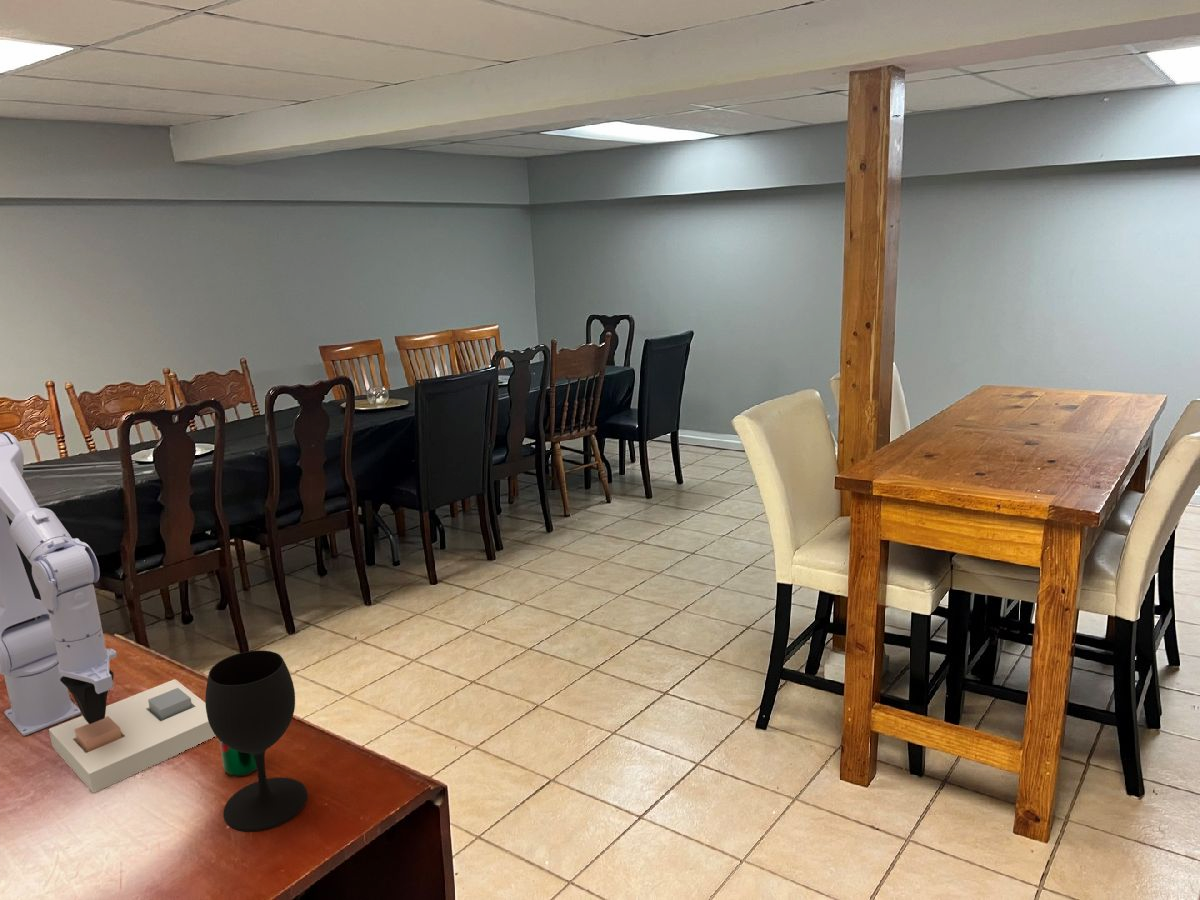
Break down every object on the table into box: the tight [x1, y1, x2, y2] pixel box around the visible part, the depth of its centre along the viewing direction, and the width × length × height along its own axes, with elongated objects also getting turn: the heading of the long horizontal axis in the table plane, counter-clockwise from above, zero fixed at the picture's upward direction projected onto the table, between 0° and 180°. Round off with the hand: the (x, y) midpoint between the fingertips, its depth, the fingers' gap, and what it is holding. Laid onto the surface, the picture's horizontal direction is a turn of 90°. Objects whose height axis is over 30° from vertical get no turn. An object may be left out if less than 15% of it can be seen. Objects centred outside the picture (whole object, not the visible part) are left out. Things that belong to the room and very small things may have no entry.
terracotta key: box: [75, 716, 122, 752], centre depth 124 cm, size 4×4×2 cm
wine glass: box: [204, 649, 308, 833], centre depth 111 cm, size 10×10×20 cm
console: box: [48, 678, 216, 794], centre depth 128 cm, size 16×18×3 cm
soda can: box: [218, 739, 257, 777], centre depth 120 cm, size 5×5×12 cm
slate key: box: [148, 688, 192, 721], centre depth 131 cm, size 4×4×2 cm
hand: (95, 719), depth 123 cm, fingers closed
